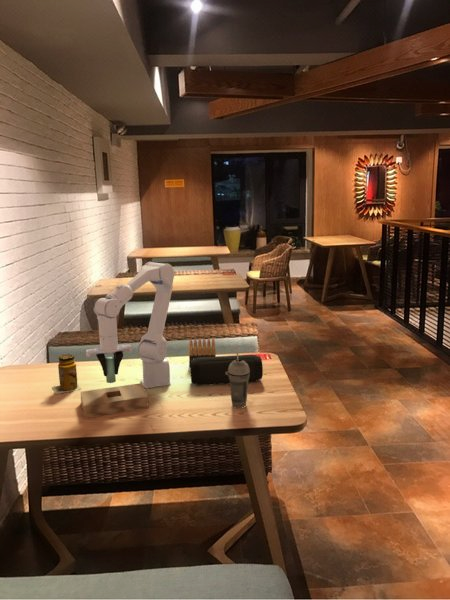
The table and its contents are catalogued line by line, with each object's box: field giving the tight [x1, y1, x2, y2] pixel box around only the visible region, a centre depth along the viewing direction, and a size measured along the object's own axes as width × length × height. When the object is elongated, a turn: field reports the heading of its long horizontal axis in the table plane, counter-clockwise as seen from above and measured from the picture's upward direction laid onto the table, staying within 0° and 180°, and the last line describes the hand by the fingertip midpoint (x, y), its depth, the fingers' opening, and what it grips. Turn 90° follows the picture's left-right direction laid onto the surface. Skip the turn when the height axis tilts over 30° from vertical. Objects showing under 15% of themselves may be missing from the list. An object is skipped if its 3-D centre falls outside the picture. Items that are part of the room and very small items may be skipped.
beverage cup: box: [228, 345, 250, 409], centre depth 159 cm, size 7×7×20 cm
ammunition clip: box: [188, 337, 217, 369], centre depth 196 cm, size 11×2×12 cm, turn 92°
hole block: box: [80, 382, 149, 419], centre depth 162 cm, size 20×12×4 cm, turn 110°
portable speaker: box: [189, 354, 264, 386], centre depth 180 cm, size 26×10×10 cm, turn 97°
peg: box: [105, 356, 117, 384], centre depth 164 cm, size 3×3×8 cm
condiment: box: [51, 353, 82, 395], centre depth 176 cm, size 7×8×12 cm
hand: (110, 374), depth 164 cm, fingers closed on peg, 3 cm apart
